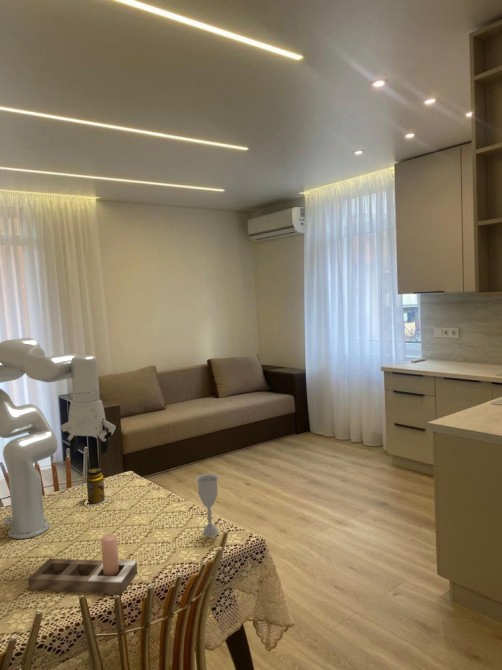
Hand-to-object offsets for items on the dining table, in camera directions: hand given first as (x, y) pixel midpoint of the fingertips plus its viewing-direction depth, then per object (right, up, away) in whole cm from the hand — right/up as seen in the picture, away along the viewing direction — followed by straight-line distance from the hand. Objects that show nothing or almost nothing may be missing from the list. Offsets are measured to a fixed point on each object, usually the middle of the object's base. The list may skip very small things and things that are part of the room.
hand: (89, 452), depth 149 cm
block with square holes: (+4, -31, -16) cm, 35 cm away
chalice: (+36, -27, +7) cm, 46 cm away
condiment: (-11, -28, +38) cm, 48 cm away
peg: (+12, -30, -18) cm, 37 cm away
